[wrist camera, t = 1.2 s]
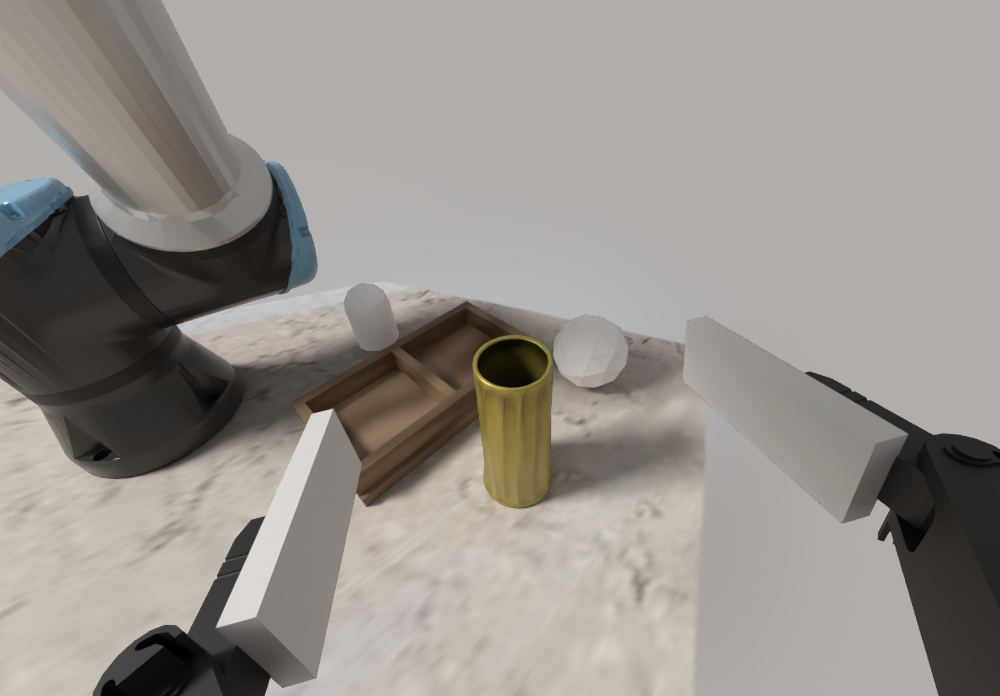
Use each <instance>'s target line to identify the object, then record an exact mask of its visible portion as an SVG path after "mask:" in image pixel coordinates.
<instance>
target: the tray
mask: <svg viewBox="0 0 1000 696" xmlns="http://www.w3.org/2000/svg"><path fill="white" fill-rule="evenodd" d="M508 335H522V336H527V337H529V336H528V335H526V334H524V333H522V332H521V331H519V330H517V329H515V328H513V327H512V326H510V325H508V324H506V323H504V322H503V321H501V320H499V319H497V318H495V317H494V316H492V315H490V314H488V313H486V312H485V311H483V310H481V309H479V308H477V307H476V306H474V305H472V304H470V303H469V302H467V301H466V302H465V303H463V304H461V305H459V306H458V307H456V308H454V309H453V310H451V311H449V312H447V313H446V314H444V315H442V316H440V317H439V318H437V319H435V320H434V321H432V322H430V323H428V324H427V325H425V326H423V327H421V328H420V329H418V330H416V331H415V332H413V333H411V334H409V335H408V336H406V337H404V338H402V339H401V340H399V341H397V342H396V343H394V344H392V345H390V346H389V347H387V348H385V349H383V350H382V351H380V352H378V353H377V354H375V355H373V356H371V357H370V358H368V359H366V360H365V361H363V362H361V363H359V364H358V365H356V366H354V367H352V368H351V369H349V370H347V371H346V372H344V373H342V374H340V375H339V376H337V377H335V378H333V379H332V380H330V381H328V382H327V383H325V384H323V385H321V386H320V387H318V388H316V389H314V390H313V391H311V392H309V393H308V394H306V395H304V396H302V397H301V398H299V399H297V400H296V401H294V402H292V403H291V404H292V406H293V407H294V409H295V410H296V412H297V413H298V415H299V417H300V418H301V420H302V421H303V423H304V424H305V426H306V425H307V423H308V420H309V418H310V416H311V414H314V413H318V412H322V411H326V410H330V409H334V411H335V413H336V415H337V417H338V419H339V421H340V422H341V424H342V426H343V428H344V430H345V432H346V434H347V436H348V438H349V440H350V442H351V444H352V446H353V448H354V450H355V452H356V454H357V456H358V458H359V460H360V462H361V464H362V466H361V471H360V476H359V480H358V485H357V490H356V493H357V495H358V496H359V497H360V499H361V500H362V501H363V503H364V504H365V505H366V507H367V506H368V505H369V504H371V503H372V502H373V501H374V500H376V499H377V498H378V497H379V496H381V495H382V494H383V493H384V492H386V491H387V490H388V489H389V488H391V487H392V486H393V485H394V484H395V483H397V482H398V481H399V480H400V479H402V478H403V477H404V476H405V475H407V474H408V473H409V472H410V471H412V470H413V469H414V468H415V467H417V466H418V465H419V464H420V463H421V462H423V461H424V460H425V459H426V458H428V457H429V456H430V455H431V454H433V453H434V452H435V451H436V450H438V449H439V448H440V447H441V446H443V445H444V444H445V443H446V442H447V441H449V440H450V439H451V438H452V437H454V436H455V435H456V434H457V433H459V432H460V431H461V430H462V429H464V428H465V427H466V426H467V425H469V424H470V423H471V422H472V421H473V420H475V419H476V418H477V417H478V416H479V414H478V406H477V394H476V388H475V382H474V372H473V359H474V356H475V354H476V352H477V351H478V350H479V349H480V348H481V347H482V346H483V345H484V344H486V343H487V342H489V341H491V340H493V339H496V338H499V337H502V336H508Z"/></svg>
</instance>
